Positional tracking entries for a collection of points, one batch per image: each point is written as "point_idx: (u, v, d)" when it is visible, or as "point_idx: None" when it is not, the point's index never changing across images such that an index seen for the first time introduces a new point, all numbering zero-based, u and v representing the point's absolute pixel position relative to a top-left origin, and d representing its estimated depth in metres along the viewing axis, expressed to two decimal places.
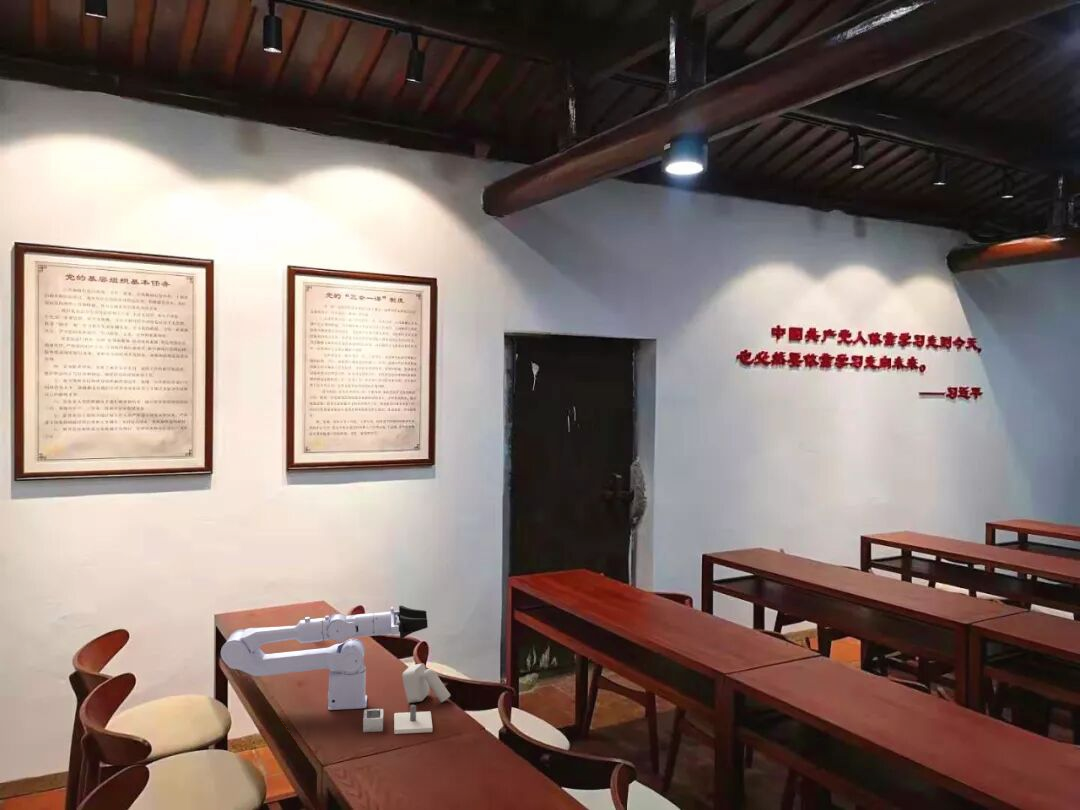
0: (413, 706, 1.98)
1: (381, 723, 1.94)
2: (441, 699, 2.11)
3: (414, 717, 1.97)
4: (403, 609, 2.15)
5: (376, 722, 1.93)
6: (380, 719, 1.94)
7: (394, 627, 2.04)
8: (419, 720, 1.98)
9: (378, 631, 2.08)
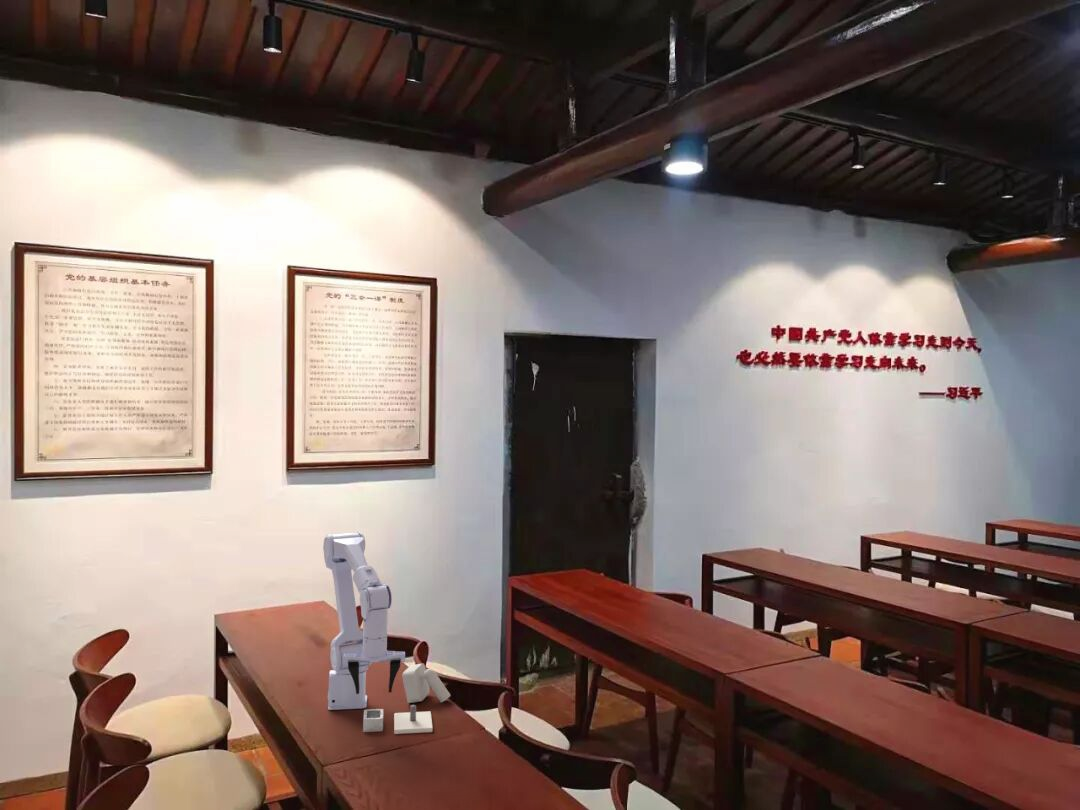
0: (413, 706, 1.98)
1: (381, 723, 1.94)
2: (441, 699, 2.11)
3: (414, 717, 1.97)
4: (390, 669, 1.95)
5: (376, 722, 1.93)
6: (380, 719, 1.94)
7: (343, 659, 1.94)
8: (419, 720, 1.98)
9: None
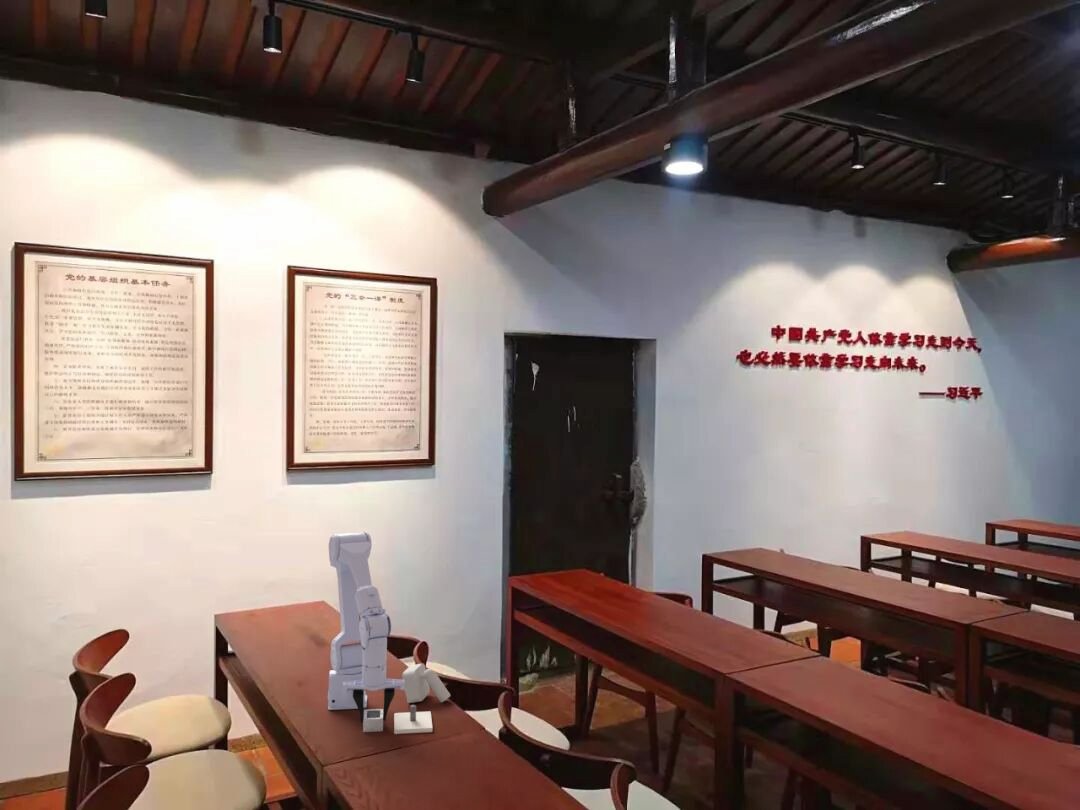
0: (413, 706, 1.98)
1: (381, 723, 1.94)
2: (441, 699, 2.11)
3: (414, 717, 1.97)
4: (384, 698, 1.94)
5: (376, 722, 1.93)
6: (380, 719, 1.94)
7: (343, 688, 1.94)
8: (419, 720, 1.98)
9: None
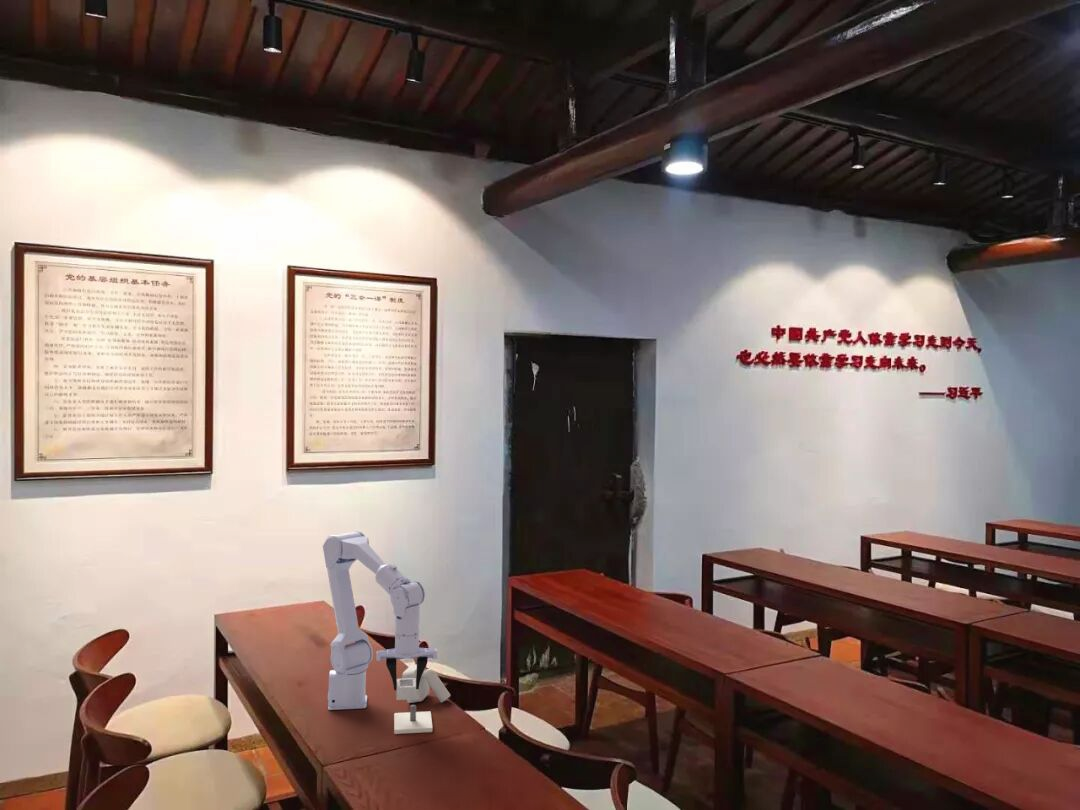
0: (413, 706, 1.98)
1: (414, 691, 1.95)
2: (441, 699, 2.11)
3: (414, 717, 1.97)
4: (417, 666, 1.96)
5: (409, 690, 1.94)
6: (413, 687, 1.95)
7: (376, 656, 1.95)
8: (419, 720, 1.98)
9: None
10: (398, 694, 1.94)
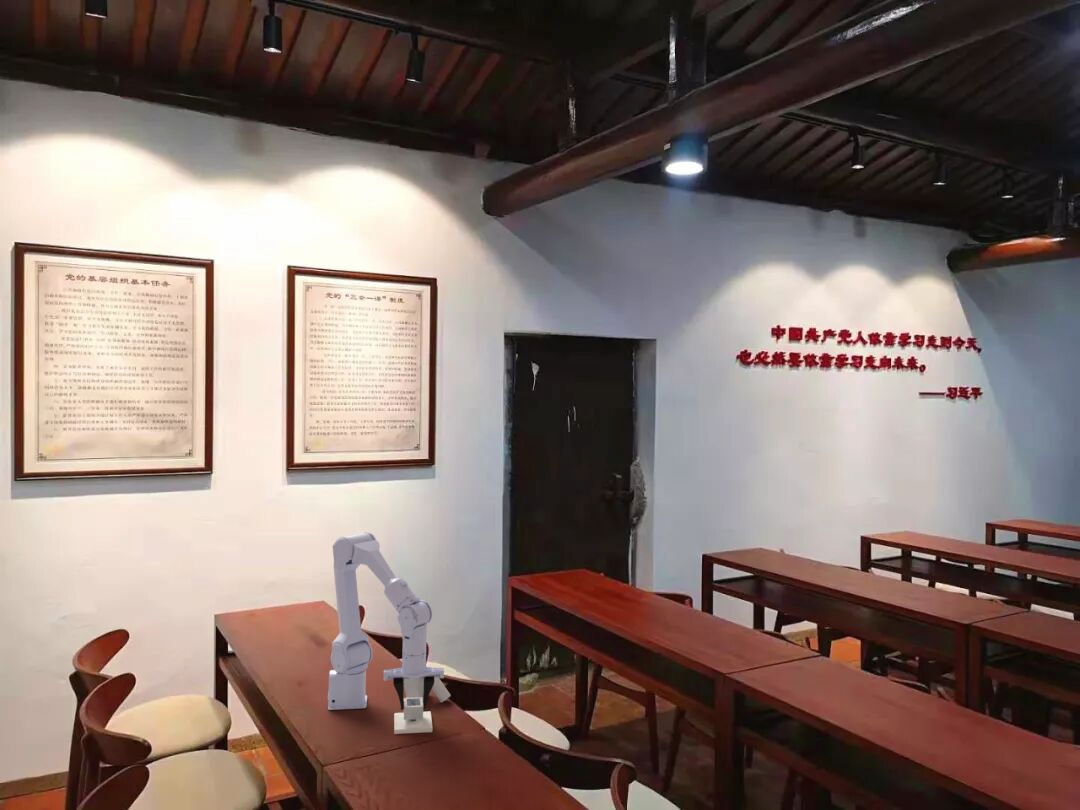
0: None
1: (421, 711, 1.95)
2: (441, 699, 2.11)
3: None
4: (424, 685, 1.96)
5: (416, 710, 1.95)
6: (420, 707, 1.95)
7: None
8: (419, 720, 1.98)
9: None
10: (405, 714, 1.94)
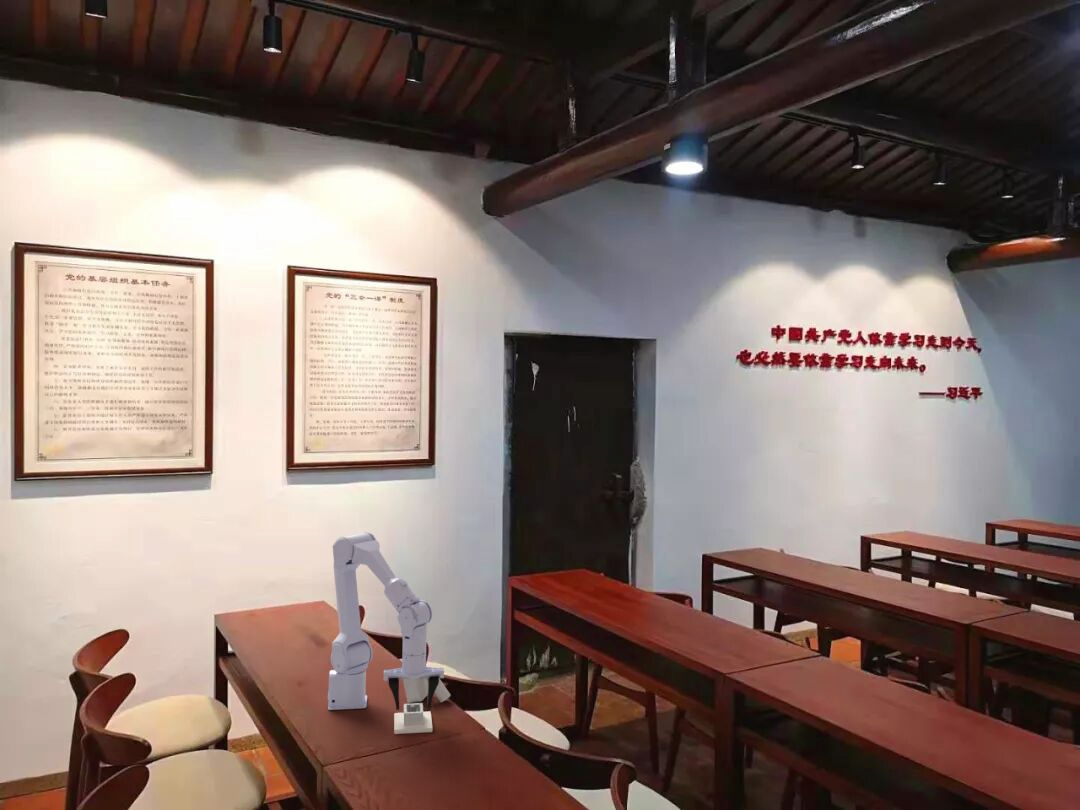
0: (413, 706, 1.98)
1: (421, 717, 1.95)
2: (441, 699, 2.11)
3: None
4: (429, 685, 1.96)
5: (416, 716, 1.95)
6: (420, 713, 1.95)
7: None
8: None
9: None
10: (405, 720, 1.95)
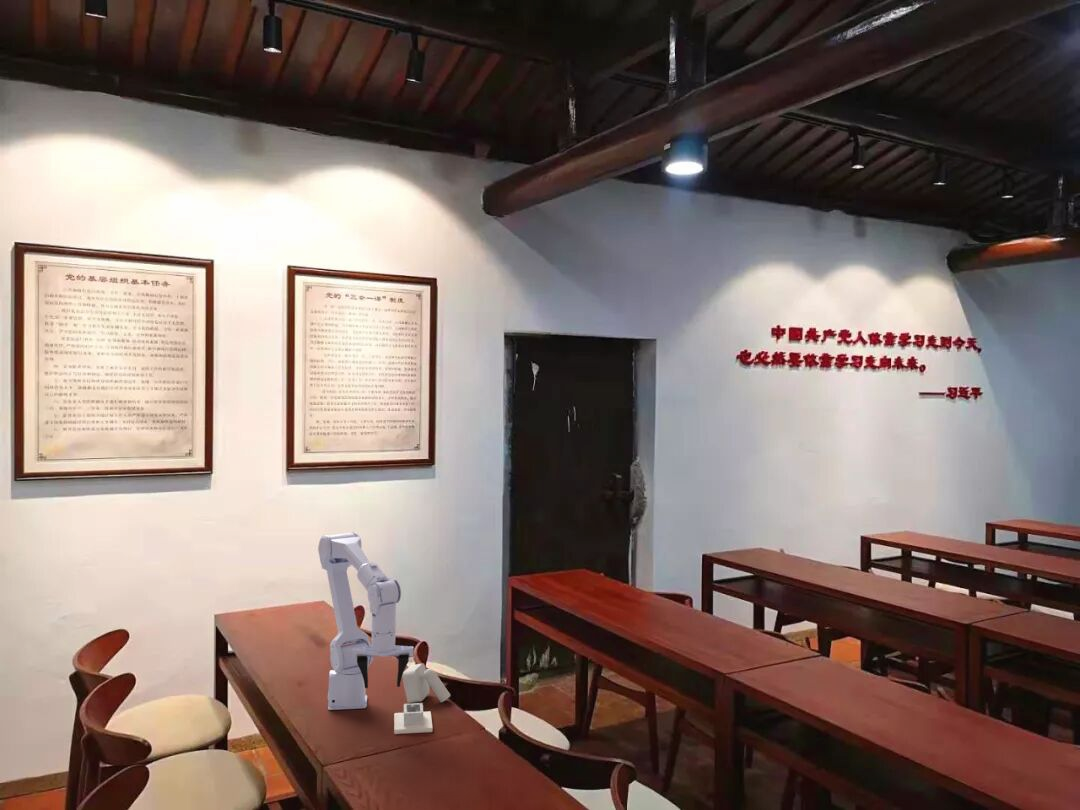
0: (413, 706, 1.98)
1: (421, 717, 1.95)
2: (441, 699, 2.11)
3: None
4: None
5: (416, 716, 1.95)
6: (420, 713, 1.95)
7: (352, 654, 1.95)
8: None
9: None
10: (405, 720, 1.95)
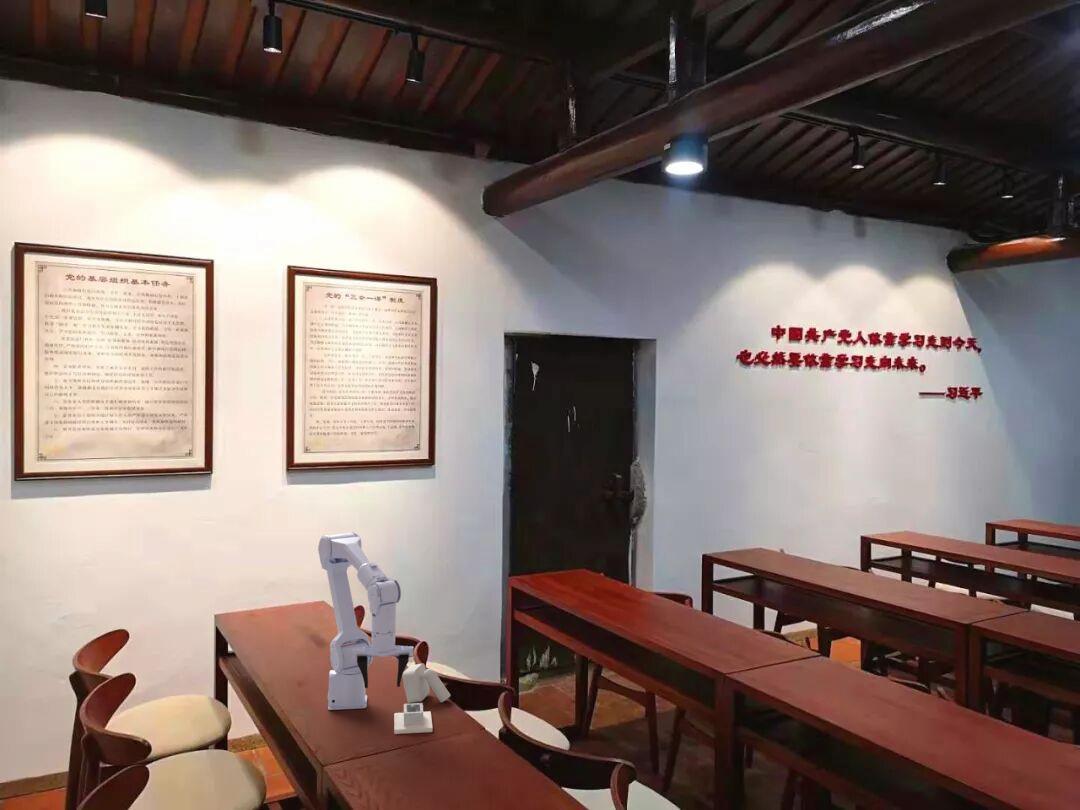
0: (413, 706, 1.98)
1: (421, 717, 1.95)
2: (441, 699, 2.11)
3: None
4: None
5: (416, 716, 1.95)
6: (420, 713, 1.95)
7: (352, 654, 1.95)
8: None
9: None
10: (405, 720, 1.95)
